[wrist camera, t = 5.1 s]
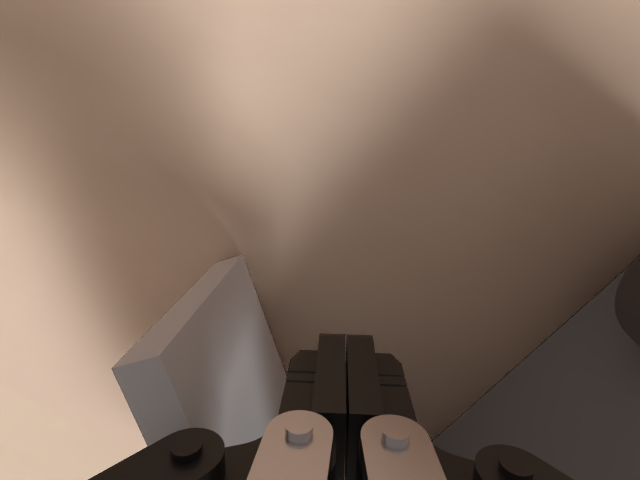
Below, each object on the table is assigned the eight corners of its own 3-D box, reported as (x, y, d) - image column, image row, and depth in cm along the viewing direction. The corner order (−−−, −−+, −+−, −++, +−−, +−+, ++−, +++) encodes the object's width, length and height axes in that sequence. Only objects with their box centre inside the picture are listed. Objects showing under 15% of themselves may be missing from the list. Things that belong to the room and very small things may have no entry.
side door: (342, 522, 17) (345, 774, 10) (303, 530, 17) (281, 783, 11) (245, 253, 15) (164, 354, 8) (200, 266, 15) (83, 376, 8)
